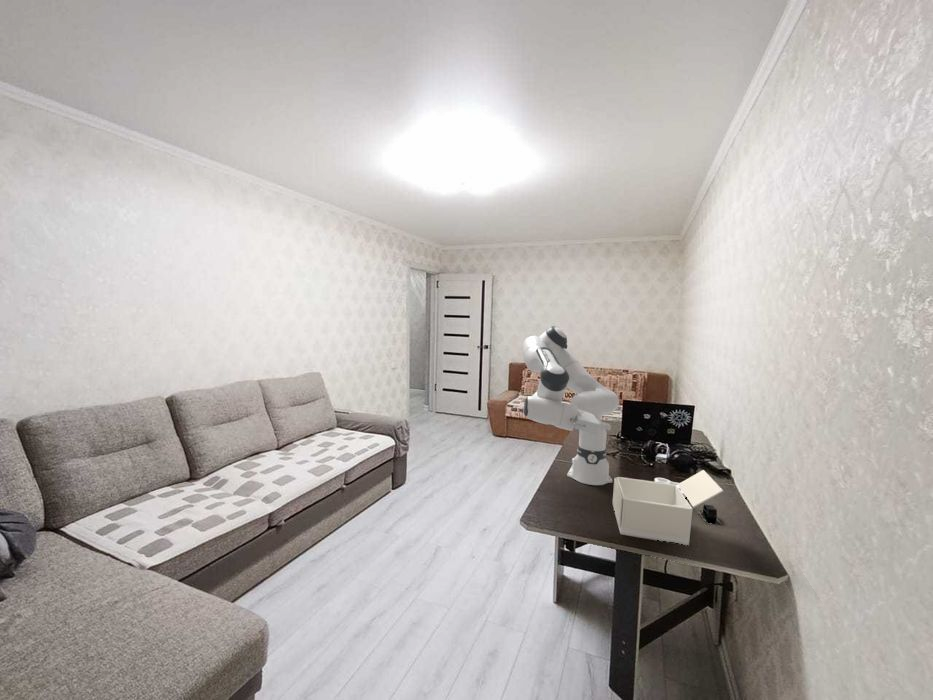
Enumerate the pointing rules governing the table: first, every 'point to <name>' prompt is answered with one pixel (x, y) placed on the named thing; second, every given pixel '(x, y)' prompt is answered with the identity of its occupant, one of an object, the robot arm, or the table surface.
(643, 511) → the carton
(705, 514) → the black angular piece
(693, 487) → the carton flap
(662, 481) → the spiked knuckle duster
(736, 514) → the table surface
